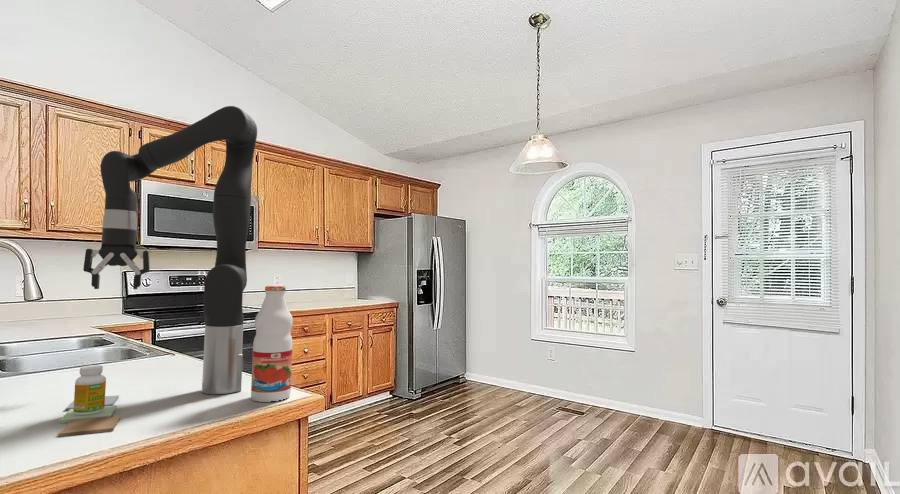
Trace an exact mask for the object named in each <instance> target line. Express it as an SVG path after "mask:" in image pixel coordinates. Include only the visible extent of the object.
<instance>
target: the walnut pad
mask: <svg viewBox="0 0 900 494" xmlns="http://www.w3.org/2000/svg"><path fill="white" fill-rule="evenodd" d="M120 420H121V415H115V416H113V415H112V416H111V417H102V418H92V419H81V420H71V421H70V422H67V424H66V425H65V426H64V427H63V428H62V429H61V430H60V432H59V433H58V437H59V438H62V437H70V436H79V435H80V436H81V435H87V434H98V433H107V432H114V431H115V428H116V427H117V425H118V423H119V422H120Z"/></svg>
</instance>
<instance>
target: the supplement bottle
mask: <svg viewBox="0 0 900 494" xmlns="http://www.w3.org/2000/svg"><path fill="white" fill-rule="evenodd" d="M103 368H104V366H103V365H100V364H98V365H97V364H94V365H92V364H91V365H83V366H80V368H79V375H80V376H79V377H77V378H76V380H75V382H74V395H73V397H74V398H73V401H74V409H73V413H74V414H75V415H92V414H96V413H99V412H102V411H103V410H104V406H105V396H106V386H107V377H106V376H105V375H103V374H102V373H103V370H104V369H103Z"/></svg>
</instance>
